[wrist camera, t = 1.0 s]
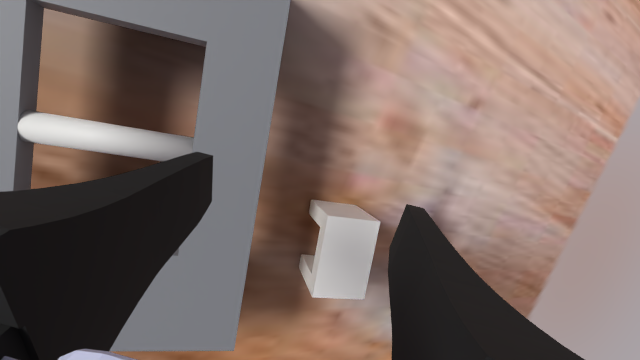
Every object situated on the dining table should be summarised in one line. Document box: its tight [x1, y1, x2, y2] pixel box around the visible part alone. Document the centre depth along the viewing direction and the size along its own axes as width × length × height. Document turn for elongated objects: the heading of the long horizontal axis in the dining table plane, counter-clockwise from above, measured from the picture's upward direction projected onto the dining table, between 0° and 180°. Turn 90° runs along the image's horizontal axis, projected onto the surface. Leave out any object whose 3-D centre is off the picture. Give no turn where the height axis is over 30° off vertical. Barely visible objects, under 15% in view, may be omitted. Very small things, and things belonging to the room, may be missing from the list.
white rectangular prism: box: [299, 199, 380, 300], centre depth 26 cm, size 6×4×5 cm, turn 169°
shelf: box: [0, 0, 291, 351], centre depth 20 cm, size 24×16×6 cm, turn 169°
